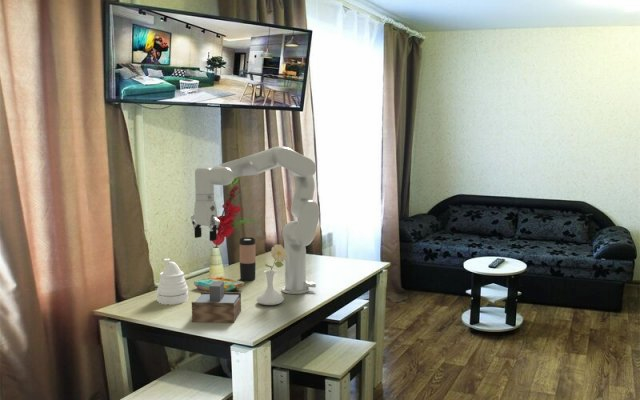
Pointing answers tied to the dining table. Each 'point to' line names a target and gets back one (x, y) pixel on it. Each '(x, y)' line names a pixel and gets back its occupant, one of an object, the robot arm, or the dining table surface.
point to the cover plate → (225, 300)
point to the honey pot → (172, 285)
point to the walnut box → (216, 310)
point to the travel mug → (247, 259)
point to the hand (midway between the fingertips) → (205, 238)
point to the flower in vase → (270, 293)
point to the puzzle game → (228, 283)
